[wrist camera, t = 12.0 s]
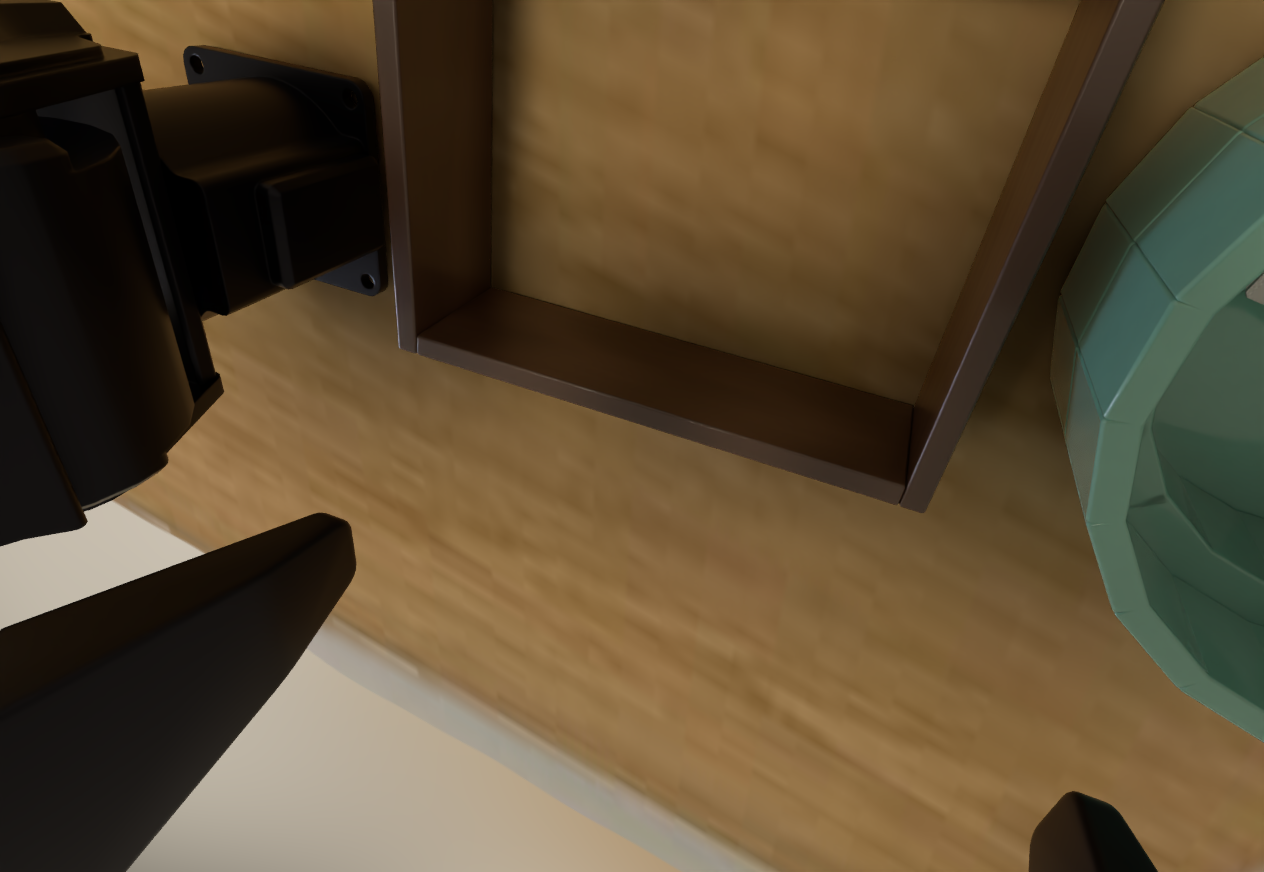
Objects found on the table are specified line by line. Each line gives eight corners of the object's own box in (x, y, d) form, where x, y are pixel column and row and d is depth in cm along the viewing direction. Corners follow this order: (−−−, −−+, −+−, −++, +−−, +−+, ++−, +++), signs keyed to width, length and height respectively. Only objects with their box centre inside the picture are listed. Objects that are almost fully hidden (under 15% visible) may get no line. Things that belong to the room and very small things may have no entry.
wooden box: (475, 299, 23) (397, 349, 20) (472, -150, 16) (357, -183, 13) (929, 429, 19) (924, 515, 16) (1145, -68, 13) (1206, -87, 10)
